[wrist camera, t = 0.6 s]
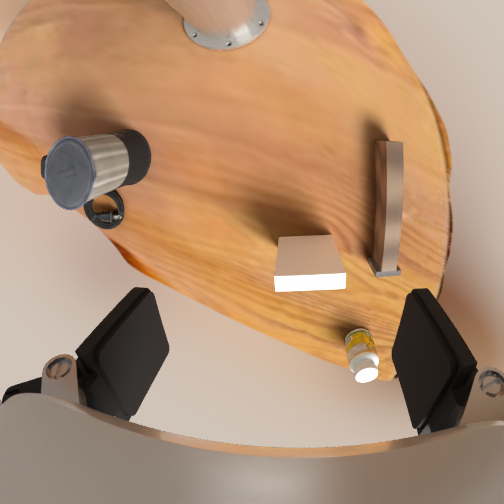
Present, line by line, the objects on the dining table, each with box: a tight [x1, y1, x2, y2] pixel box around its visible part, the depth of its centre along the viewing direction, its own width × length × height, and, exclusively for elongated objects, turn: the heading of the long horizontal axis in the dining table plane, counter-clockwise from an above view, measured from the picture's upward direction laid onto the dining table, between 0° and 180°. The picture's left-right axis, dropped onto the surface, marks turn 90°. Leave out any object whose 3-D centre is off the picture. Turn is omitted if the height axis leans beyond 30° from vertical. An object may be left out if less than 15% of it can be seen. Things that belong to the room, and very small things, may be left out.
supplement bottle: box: [345, 328, 379, 382], centre depth 43 cm, size 5×5×10 cm
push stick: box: [368, 140, 403, 277], centre depth 34 cm, size 19×4×5 cm, turn 6°
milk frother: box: [41, 130, 151, 229], centre depth 34 cm, size 14×16×15 cm
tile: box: [274, 235, 346, 291], centre depth 35 cm, size 2×8×12 cm, turn 96°
